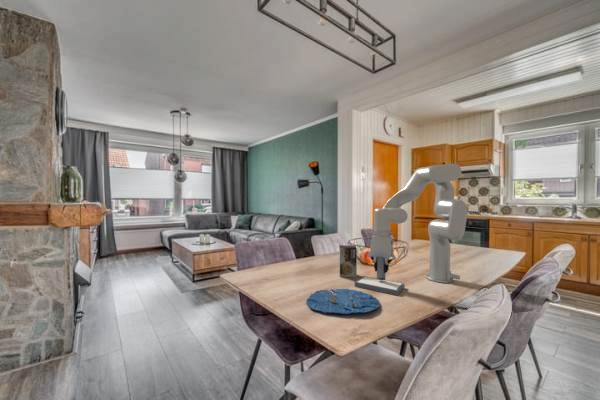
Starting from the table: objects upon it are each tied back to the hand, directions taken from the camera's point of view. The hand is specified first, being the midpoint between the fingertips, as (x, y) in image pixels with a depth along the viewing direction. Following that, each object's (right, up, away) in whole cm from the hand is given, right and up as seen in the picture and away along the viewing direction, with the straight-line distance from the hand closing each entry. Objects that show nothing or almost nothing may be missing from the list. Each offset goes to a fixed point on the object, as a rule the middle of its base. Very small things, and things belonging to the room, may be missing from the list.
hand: (381, 271), depth 125 cm
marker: (0, -4, 0) cm, 4 cm away
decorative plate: (-23, -8, -20) cm, 31 cm away
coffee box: (-13, -7, +16) cm, 22 cm away
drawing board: (-1, -7, -2) cm, 7 cm away
